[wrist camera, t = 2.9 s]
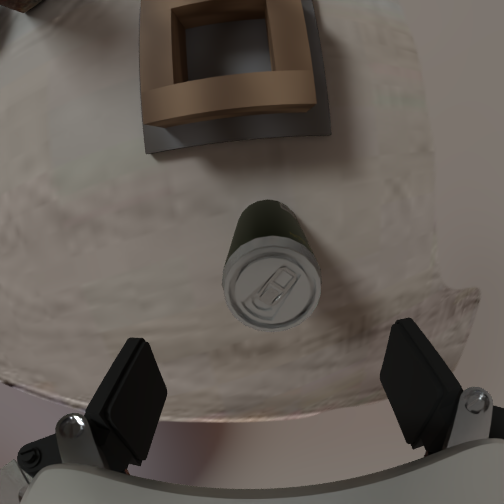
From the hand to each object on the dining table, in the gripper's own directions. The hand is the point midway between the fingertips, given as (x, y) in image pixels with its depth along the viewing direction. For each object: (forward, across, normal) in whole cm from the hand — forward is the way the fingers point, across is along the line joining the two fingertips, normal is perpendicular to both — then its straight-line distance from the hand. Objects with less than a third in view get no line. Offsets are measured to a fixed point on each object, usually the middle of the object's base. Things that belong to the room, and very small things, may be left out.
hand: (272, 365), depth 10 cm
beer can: (+17, 0, -1) cm, 17 cm away
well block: (+16, +2, -17) cm, 23 cm away
